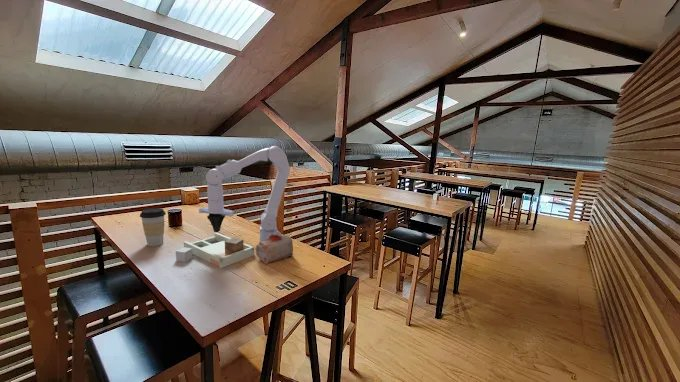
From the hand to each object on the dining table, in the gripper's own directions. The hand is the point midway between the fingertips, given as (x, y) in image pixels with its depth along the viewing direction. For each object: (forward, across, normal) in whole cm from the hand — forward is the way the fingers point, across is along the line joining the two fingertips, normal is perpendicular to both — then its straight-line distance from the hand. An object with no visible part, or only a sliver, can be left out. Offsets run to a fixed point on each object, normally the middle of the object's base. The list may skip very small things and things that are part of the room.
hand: (217, 231), depth 121 cm
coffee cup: (+9, +30, +1) cm, 31 cm away
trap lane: (+9, 0, 0) cm, 9 cm away
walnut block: (+7, -9, +2) cm, 12 cm away
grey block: (+9, +8, +10) cm, 15 cm away
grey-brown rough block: (+9, -24, -2) cm, 26 cm away
